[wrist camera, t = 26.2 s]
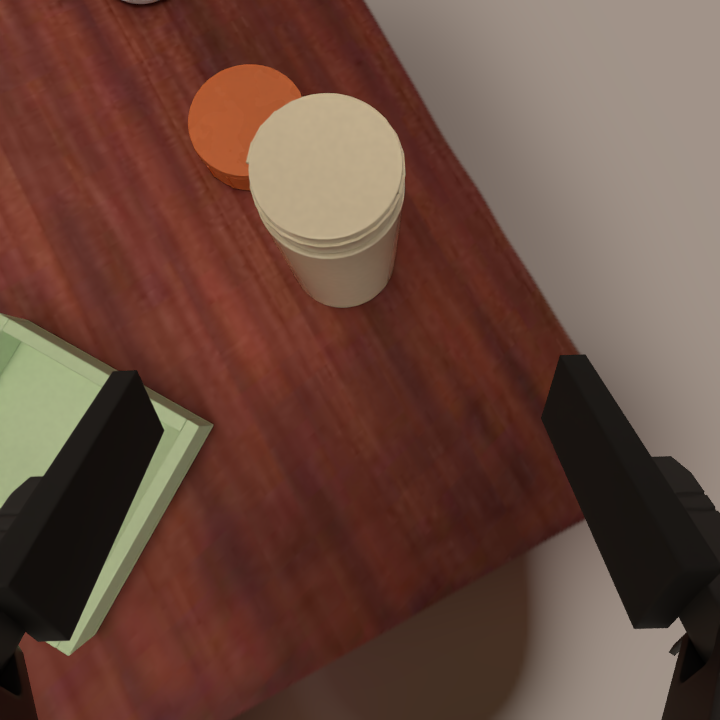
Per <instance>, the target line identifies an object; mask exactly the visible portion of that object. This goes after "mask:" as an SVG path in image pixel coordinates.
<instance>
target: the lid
mask: <svg viewBox="0 0 720 720" xmlns="http://www.w3.org/2000/svg"><path fill="white" fill-rule="evenodd" d="M301 97H302V95H301V93H300V91H299V90H298V88H297V87H296V86H295V84H294V83H293V82H292V81H291V80H290V79H289V78H287V77H286V76H285V75H284V74H282V73H280V72H279V71H277V70H275V69H272V68H270V67H266V66H262V65H255V64H245V65H238V66H233V67H230V68H227V69H225V70H223V71H220V72H219V73H217V74H215V75H214V76H213V77H211V78H210V79H209V80H207V81H206V82H205V83H204V84H203V85H202V87H201V88H200V89H199V91H198V92H197V94H196V95H195V97H194V99H193V101H192V104H191V107H190V110H189V116H188V129H189V135H190V139H191V142H192V144H193V146H194V149H195V151H196V153H197V154H198V155H199V157H200V158H201V160H202V161H203V162H204V163H205V165H206V166H207V168H208V169H209V170H210V172H211V173H212V175H213V176H214V177H215V178H218V179H219V180H220V181H222V182H223V183H225V184H227V185H229V186H231V187H232V188H233V189H234V188H237V189H241V190H249V191H251V190H250V181H249V173H248V166H249V164H247V163H246V160H247V156H248V152H249V148H250V143H251V142H252V140H253V138H254V137H255V135H256V133H257V131H258V129H259V127H260V126H261V125H262V124H263V123H264V122H265V121H266V120H267V119H268V118H269V117H270V116H271V114H272V113H273V112H274V111H277V110H278V109H280V108H281V107H283V106H284V105H286V104H288V103H289V102H291V101H292V100H296V99H299V98H301Z"/></svg>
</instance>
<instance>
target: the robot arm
mask: <svg viewBox="0 0 720 720" xmlns="http://www.w3.org/2000/svg"><path fill="white" fill-rule="evenodd" d="M541 419H542V421H543V424H544V426H545V428H546V431H547V433H548V435H549V437H550V440H551V442H552V444H553V446H554V449H555V451H556V453H557V455H558V458H559V460H560V462H561V465H562V467H563V469H564V471H565V474H566V476H567V478H568V480H569V483H570V485H571V487H572V489H573V492H574V494H575V496H576V499H577V501H578V503H579V505H580V508H581V510H582V512H583V514H584V517H585V519H586V521H587V523H588V526H589V528H590V530H591V532H592V535H593V537H594V539H595V542H596V544H597V546H598V548H599V551H600V553H601V555H602V557H603V560H604V562H605V564H606V566H607V569H608V571H609V573H610V576H611V578H612V580H613V582H614V584H615V587H616V589H617V591H618V594H619V596H620V598H621V600H622V603H623V605H624V607H625V610H626V612H627V614H628V616H629V619H630V621H631V623H632V625H633V628H634V629H644V628H668V627H669V626H670V625H671V624H672V623H673V622H674V621H675V620H676V619H677V618H678V617H679V618H680V620H681V622H682V624H683V626H684V628H685V630H686V633H685V635H683V637H681V638H680V639H679V640H678V641H677V642H676V643H675V644H674V645H673V647H672V648H671V650H670V652H669V653H671V654H673V655H674V656H675V655H676V654H677V653H678V652H679V655H678V659H677V662H676V667H675V670H674V674H673V678H672V681H671V686H670V689H669V693H668V697H667V701H666V705H665V708H664V712H663V716H662V720H720V513H719V512H718V511H716V510H715V506H714V505H713V503H712V502H711V500H710V499H709V498H708V496H707V495H705V494H704V490H703V489H702V488H701V486H700V485H699V483H698V482H697V480H696V479H695V478H694V476H693V475H692V473H691V472H690V471H688V470H687V469H686V468H685V467H683V466H682V465H681V464H680V463H678V462H677V461H676V460H675V459H674V458H672V457H671V456H668V457H667V456H666V457H651V456H650V454H649V452H648V451H647V449H646V448H645V446H644V445H643V443H642V442H641V440H640V438H639V437H638V435H637V434H636V432H635V431H634V429H633V428H632V426H631V424H630V423H629V421H628V420H627V418H626V417H625V416H624V414H623V412H622V411H621V409H620V407H619V406H618V404H617V403H616V402H615V400H614V398H613V397H612V395H611V394H610V392H609V391H608V389H607V387H606V386H605V384H604V383H603V381H602V380H601V378H600V377H599V375H598V373H597V372H596V370H595V369H594V367H593V366H592V364H591V363H590V361H589V359H588V358H587V356H586V355H560V357H559V361H558V364H557V367H556V371H555V374H554V377H553V381H552V384H551V387H550V391H549V394H548V397H547V401H546V404H545V407H544V411H543V414H542V417H541ZM164 431H165V430H164V428H163V426H162V424H161V422H160V420H159V417H158V415H157V413H156V411H155V409H154V406H153V404H152V402H151V400H150V398H149V396H148V393H147V391H146V389H145V387H144V385H143V383H142V380H141V378H140V376H139V374H138V372H137V370H134V371H113V372H112V373H111V375H110V376H109V378H108V379H107V381H106V382H105V384H104V385H103V387H102V388H101V390H100V391H99V393H98V394H97V396H96V397H95V399H94V400H93V402H92V403H91V405H90V406H89V408H88V409H87V411H86V412H85V414H84V415H83V417H82V418H81V420H80V421H79V423H78V424H77V426H76V427H75V429H74V430H73V432H72V433H71V435H70V437H69V438H68V440H67V441H66V443H65V444H64V446H63V447H62V449H61V450H60V452H59V453H58V455H57V456H56V458H55V459H54V461H53V462H52V464H51V465H50V467H49V468H48V470H47V471H46V473H45V474H44V476H34V477H29V478H28V479H27V480H26V481H25V482H24V483H22V484H21V485H20V486H19V487H18V488H17V489H16V490H14V491H13V492H12V493H11V494H10V496H9V497H8V498H7V500H6V501H5V503H4V504H3V506H2V507H1V508H0V720H38V717H37V713H36V708H35V704H34V700H33V695H32V691H31V686H30V682H29V677H28V673H27V668H26V664H25V659H24V655H23V652H22V650H21V649H20V647H19V646H18V644H19V643H20V641H21V639H22V637H23V635H24V633H25V632H26V633H28V634H29V635H30V636H31V637H33V638H34V639H35V640H37V641H38V642H41V641H70V639H71V637H72V635H73V633H74V630H75V628H76V626H77V624H78V622H79V619H80V617H81V615H82V613H83V610H84V608H85V606H86V604H87V602H88V599H89V597H90V595H91V593H92V590H93V588H94V586H95V584H96V582H97V579H98V577H99V575H100V573H101V570H102V568H103V566H104V564H105V562H106V559H107V557H108V555H109V553H110V550H111V548H112V546H113V544H114V542H115V539H116V537H117V535H118V533H119V531H120V528H121V526H122V524H123V522H124V519H125V517H126V515H127V513H128V511H129V508H130V506H131V504H132V502H133V499H134V497H135V495H136V493H137V491H138V488H139V486H140V484H141V482H142V479H143V477H144V475H145V473H146V471H147V468H148V466H149V464H150V462H151V459H152V457H153V455H154V453H155V451H156V448H157V446H158V444H159V442H160V439H161V437H162V435H163V433H164Z"/></svg>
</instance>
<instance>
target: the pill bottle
mask: <svg viewBox="0 0 720 720" xmlns="http://www.w3.org/2000/svg"><path fill="white" fill-rule="evenodd" d="M122 1H125V2H129V3H133V4H148V3H153V2H156V1H159V0H122Z"/></svg>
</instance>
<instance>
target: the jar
mask: <svg viewBox="0 0 720 720" xmlns="http://www.w3.org/2000/svg"><path fill="white" fill-rule="evenodd" d="M246 163H247V164H249V166H248V173H249V181H250V190H251V193H252V196H253V199H254V203H255V206H256V208H257V210H258V213H259V215H260V218H261V220H262V222H263V223H264V225H265V227H266V229H267V230H268V232H269V234H270V235H271V237H272V239H273V241H274V242H275V244H276V246H277V247H278V249H279V251H280V252H281V254H282V256H283V258H284V259H285V261H286V263H287V264H288V266H289V268H290V269H291V271H292V273H293V275H294V276H295V278H296V280H297V281H298V283H299V285H300V286H301V287H302V289H303V290H304V291H305V292H306V293H307V294H308V295H309V296H310V297H312V298H313V299H315V300H316V301H318V302H320V303H322V304H325V305H328V306H332V307H339V308H346V307H353V306H357V305H360V304H363V303H365V302H367V301H369V300H371V299H372V298H374V297H375V296H376V295H378V294H379V293H380V292H381V291H382V289H383V288H384V287H385V286H386V284H387V283H388V281H389V279H390V277H391V275H392V272H393V268H394V263H395V256H396V249H397V242H398V235H399V229H400V222H401V215H402V208H403V201H404V194H405V175H406V173H405V159H404V152H403V149H402V147H401V144H400V141H399V138H398V135H397V134H396V132H395V131H394V130H393V128H392V127H391V125H390V124H389V123H388V121H387V119H386V118H384V117H383V116H382V115H381V114H380V113H379V112H378V111H377V110H376V109H374V108H373V107H371V106H370V105H368V104H367V103H365V102H363V101H361V100H359V99H356V98H353V97H351V96H346V95H342V94H334V93H320V94H312V95H308V96H304V97H301V98H299V99H296V100H292V101H291V102H289V103H288V104H286V105H284V106H283V107H281V108H280V109H278V110H277V111H274V112H273V113H272V114H271V116H270V117H269V118H268V119H267V120H266V121H265V122H264V123H263V124H262V125H261V126H260V127H259V129H258V131H257V133H256V135H255V137H254V138H253V140H252V142H251V143H250V148H249V152H248V156H247V160H246Z"/></svg>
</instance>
